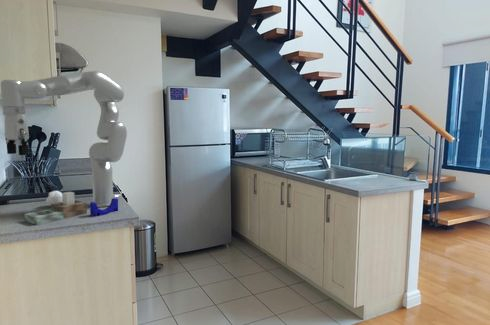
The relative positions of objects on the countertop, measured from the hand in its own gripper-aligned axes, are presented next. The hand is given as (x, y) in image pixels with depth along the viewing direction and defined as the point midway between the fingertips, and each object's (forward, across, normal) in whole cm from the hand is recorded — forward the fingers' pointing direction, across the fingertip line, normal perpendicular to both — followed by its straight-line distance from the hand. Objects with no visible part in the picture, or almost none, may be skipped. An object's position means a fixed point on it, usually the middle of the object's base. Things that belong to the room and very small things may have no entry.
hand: (17, 154), depth 140 cm
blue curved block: (+29, -14, -29) cm, 44 cm away
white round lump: (+29, +17, -22) cm, 41 cm away
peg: (+29, -3, -18) cm, 34 cm away
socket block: (+29, -3, -12) cm, 31 cm away
